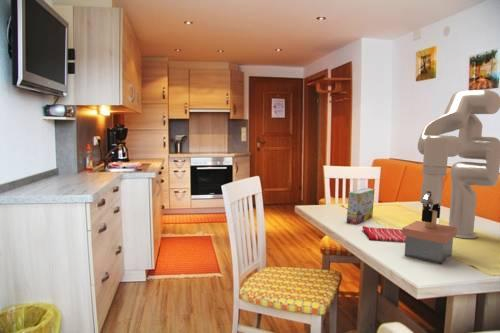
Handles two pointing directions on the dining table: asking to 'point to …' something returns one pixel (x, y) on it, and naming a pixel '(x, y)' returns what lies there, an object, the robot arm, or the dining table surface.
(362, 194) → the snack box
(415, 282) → the dining table surface
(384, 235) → the dish towel
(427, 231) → the lid
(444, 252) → the tin
